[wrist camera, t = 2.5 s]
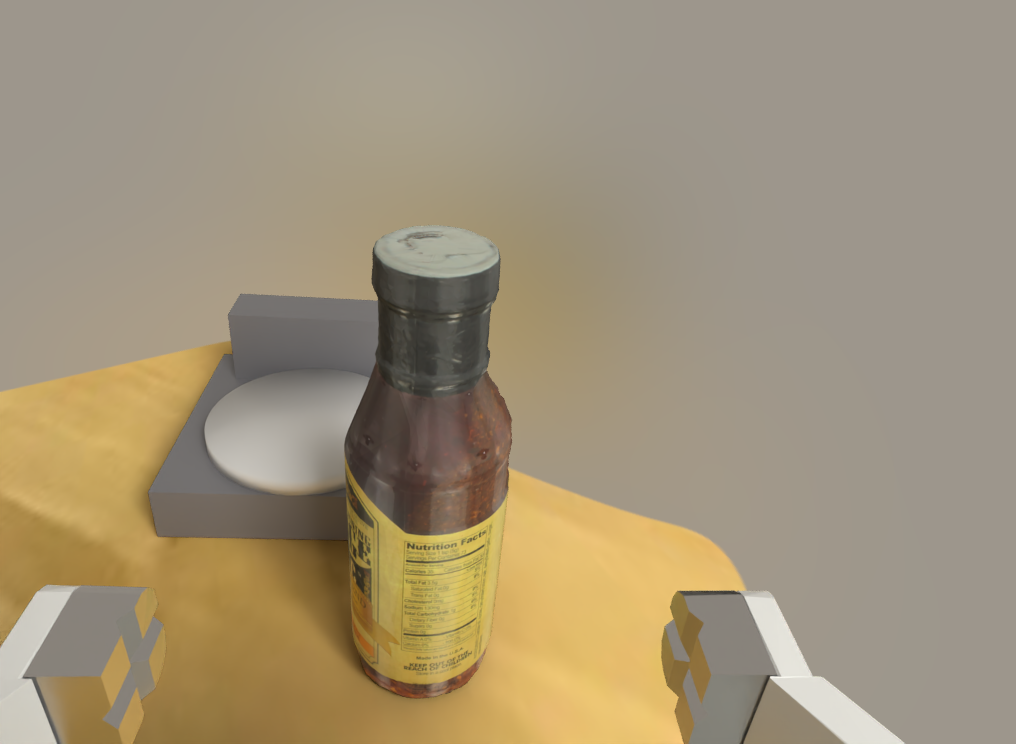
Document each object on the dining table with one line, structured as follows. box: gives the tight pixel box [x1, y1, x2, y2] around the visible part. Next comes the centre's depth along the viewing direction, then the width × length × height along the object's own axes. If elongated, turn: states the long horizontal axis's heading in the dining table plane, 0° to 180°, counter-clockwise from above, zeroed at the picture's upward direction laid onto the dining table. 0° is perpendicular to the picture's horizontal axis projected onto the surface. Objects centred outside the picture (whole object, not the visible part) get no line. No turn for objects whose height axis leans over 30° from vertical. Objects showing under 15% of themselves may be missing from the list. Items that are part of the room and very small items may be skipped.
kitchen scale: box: [148, 294, 379, 540], centre depth 43 cm, size 14×14×8 cm
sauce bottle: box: [344, 225, 512, 698], centre depth 28 cm, size 6×6×20 cm
